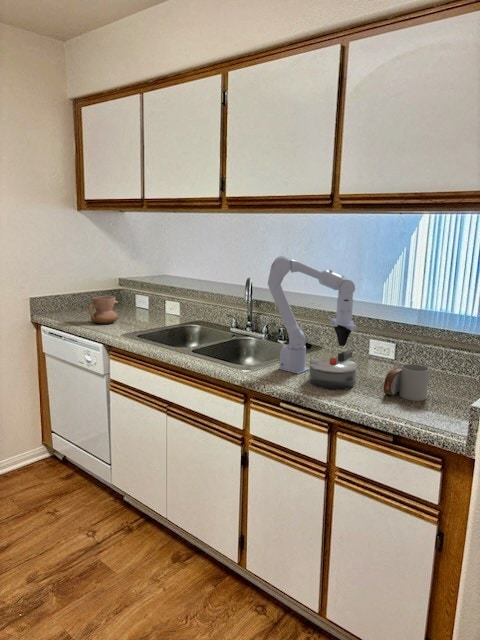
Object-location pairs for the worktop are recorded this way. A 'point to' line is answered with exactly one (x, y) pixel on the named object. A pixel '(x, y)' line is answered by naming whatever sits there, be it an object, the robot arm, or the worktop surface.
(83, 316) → the worktop surface
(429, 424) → the worktop surface
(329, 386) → the cooker pot
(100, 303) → the ceramic jug
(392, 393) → the tin
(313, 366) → the lid
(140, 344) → the worktop surface
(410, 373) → the cup
